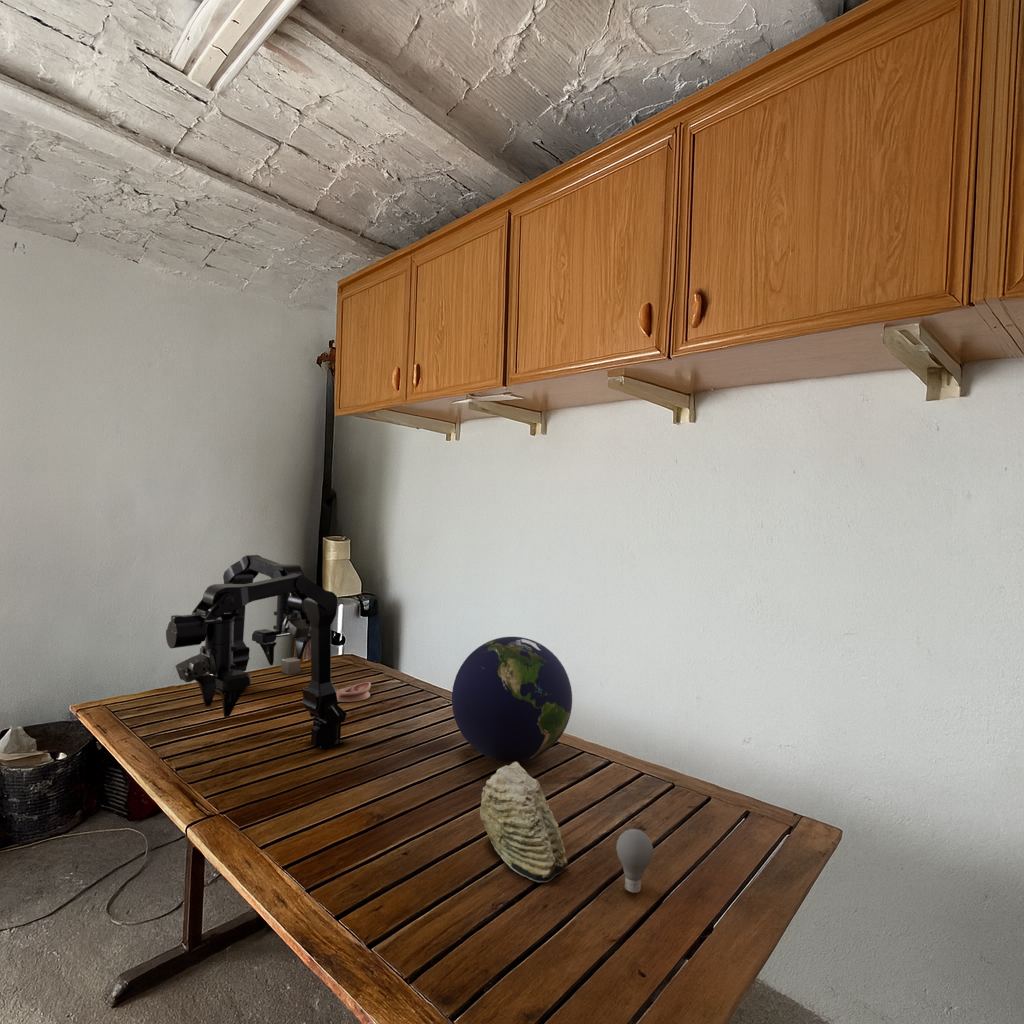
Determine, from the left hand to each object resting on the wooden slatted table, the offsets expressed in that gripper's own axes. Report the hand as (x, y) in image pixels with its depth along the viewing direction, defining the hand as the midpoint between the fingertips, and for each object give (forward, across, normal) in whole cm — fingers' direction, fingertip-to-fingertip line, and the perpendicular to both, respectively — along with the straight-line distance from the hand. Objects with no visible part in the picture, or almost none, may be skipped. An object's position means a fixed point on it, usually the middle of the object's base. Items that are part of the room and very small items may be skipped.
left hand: (285, 662), depth 183 cm
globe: (+15, +17, -69) cm, 72 cm away
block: (+15, +26, +33) cm, 45 cm away
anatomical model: (+15, +21, -3) cm, 26 cm away
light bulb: (+15, -14, -116) cm, 118 cm away
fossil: (+15, -18, -95) cm, 98 cm away
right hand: (0, -35, -24) cm, 42 cm away
